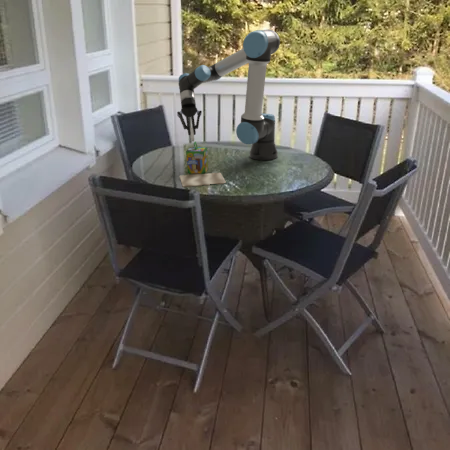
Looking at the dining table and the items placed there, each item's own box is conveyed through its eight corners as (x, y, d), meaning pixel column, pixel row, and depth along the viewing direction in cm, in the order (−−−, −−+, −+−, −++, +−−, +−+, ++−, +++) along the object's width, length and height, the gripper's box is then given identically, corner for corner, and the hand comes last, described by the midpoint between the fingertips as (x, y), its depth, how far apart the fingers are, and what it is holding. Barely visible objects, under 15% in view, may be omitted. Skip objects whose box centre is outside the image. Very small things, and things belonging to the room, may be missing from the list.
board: (220, 173, 249) (220, 172, 248) (226, 183, 234) (226, 182, 234) (179, 176, 246) (179, 175, 245) (182, 187, 231) (182, 185, 231)
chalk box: (205, 174, 248) (204, 144, 242) (186, 174, 250) (185, 144, 244) (208, 169, 257) (207, 140, 251) (191, 168, 258) (189, 139, 252)
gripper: (199, 104, 271) (205, 143, 263) (175, 106, 270) (179, 144, 261) (200, 96, 264) (205, 135, 256) (175, 97, 263) (180, 136, 254)
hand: (192, 139), depth 258 cm, fingers closed
